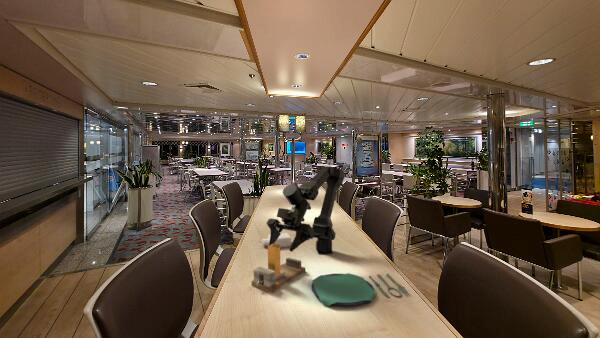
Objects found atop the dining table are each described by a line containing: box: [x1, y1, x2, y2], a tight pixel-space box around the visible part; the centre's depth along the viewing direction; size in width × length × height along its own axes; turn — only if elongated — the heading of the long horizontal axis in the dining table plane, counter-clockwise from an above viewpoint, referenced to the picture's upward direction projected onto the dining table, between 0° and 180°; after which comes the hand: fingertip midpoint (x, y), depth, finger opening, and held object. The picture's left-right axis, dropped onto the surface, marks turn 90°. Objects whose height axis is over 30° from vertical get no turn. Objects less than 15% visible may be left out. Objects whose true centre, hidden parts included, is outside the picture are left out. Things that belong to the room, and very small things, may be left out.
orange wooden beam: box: [256, 244, 285, 286], centre depth 91 cm, size 11×5×11 cm, turn 145°
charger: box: [257, 232, 292, 248], centre depth 133 cm, size 5×9×15 cm
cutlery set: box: [310, 272, 412, 307], centre depth 87 cm, size 20×30×2 cm, turn 99°
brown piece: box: [251, 257, 306, 293], centre depth 97 cm, size 19×9×6 cm, turn 146°
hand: (279, 248), depth 96 cm, fingers open, 9 cm apart
